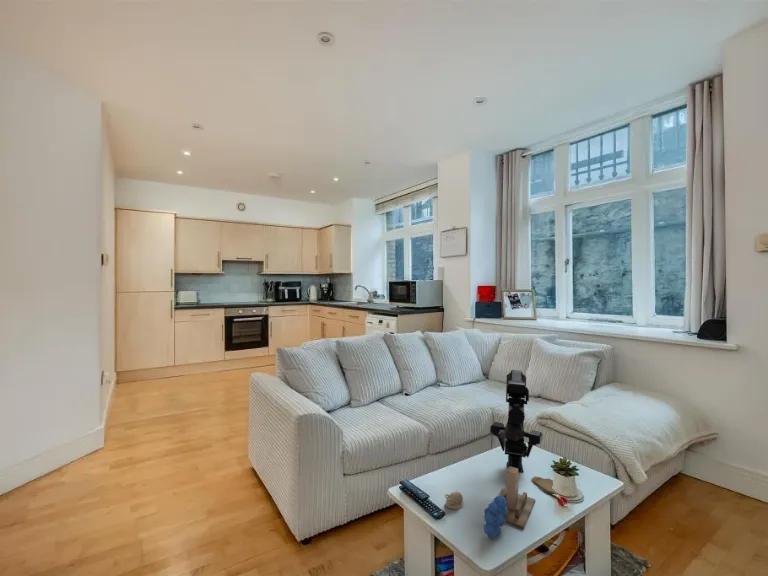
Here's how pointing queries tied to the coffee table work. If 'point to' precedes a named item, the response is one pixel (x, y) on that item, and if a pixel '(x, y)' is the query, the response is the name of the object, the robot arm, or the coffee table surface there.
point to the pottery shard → (544, 484)
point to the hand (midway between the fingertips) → (515, 453)
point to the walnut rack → (519, 510)
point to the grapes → (495, 516)
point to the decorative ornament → (454, 500)
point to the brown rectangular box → (512, 488)
